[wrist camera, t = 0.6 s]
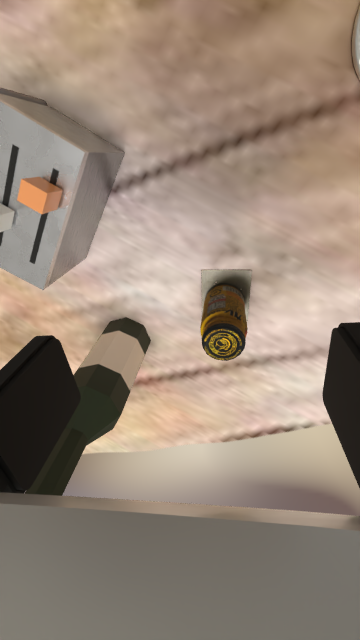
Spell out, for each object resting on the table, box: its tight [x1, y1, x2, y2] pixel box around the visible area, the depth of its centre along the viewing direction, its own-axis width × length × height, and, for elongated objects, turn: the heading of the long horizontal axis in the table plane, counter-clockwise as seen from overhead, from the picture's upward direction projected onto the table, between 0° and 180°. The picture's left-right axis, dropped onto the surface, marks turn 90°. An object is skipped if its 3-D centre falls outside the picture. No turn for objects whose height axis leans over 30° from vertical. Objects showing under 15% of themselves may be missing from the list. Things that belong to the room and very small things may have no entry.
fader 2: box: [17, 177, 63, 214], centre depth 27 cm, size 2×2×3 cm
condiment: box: [200, 270, 252, 361], centre depth 39 cm, size 7×8×12 cm
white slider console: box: [0, 94, 125, 290], centre depth 34 cm, size 16×10×12 cm, turn 152°
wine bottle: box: [25, 318, 151, 496], centre depth 38 cm, size 8×8×30 cm
